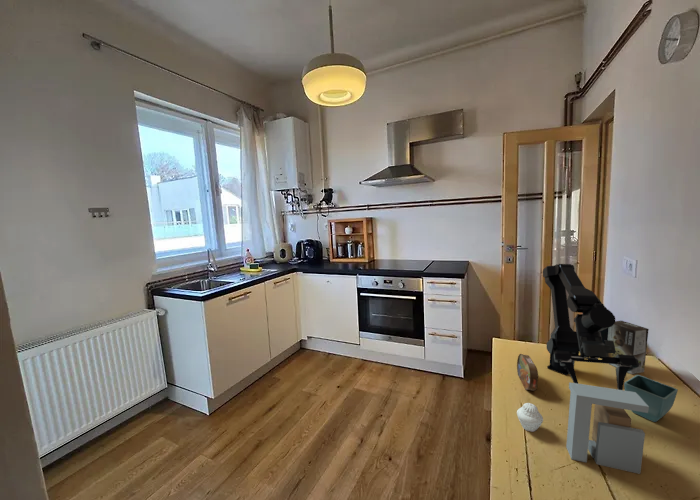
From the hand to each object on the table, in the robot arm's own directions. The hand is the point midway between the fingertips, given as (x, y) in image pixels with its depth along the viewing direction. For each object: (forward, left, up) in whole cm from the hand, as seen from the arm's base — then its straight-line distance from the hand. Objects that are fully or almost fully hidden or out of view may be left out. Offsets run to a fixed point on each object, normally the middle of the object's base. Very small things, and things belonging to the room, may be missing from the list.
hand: (598, 391), depth 85 cm
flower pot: (+8, +14, -9) cm, 18 cm away
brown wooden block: (+6, -11, -8) cm, 15 cm away
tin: (-20, +3, -9) cm, 22 cm away
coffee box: (-4, +42, -9) cm, 43 cm away
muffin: (-9, -18, -9) cm, 22 cm away
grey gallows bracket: (+6, -15, -8) cm, 18 cm away
